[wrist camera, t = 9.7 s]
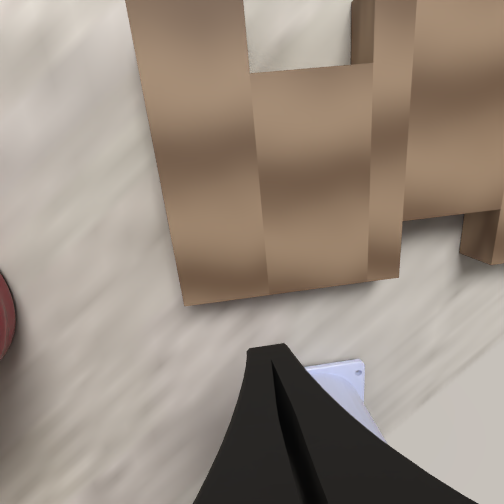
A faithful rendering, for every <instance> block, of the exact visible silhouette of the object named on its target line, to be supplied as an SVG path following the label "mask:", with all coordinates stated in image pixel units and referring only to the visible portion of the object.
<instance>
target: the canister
mask: <svg viewBox="0 0 504 504" xmlns="http://www.w3.org/2000/svg"><path fill="white" fill-rule="evenodd" d="M14 331H15V308H14V303H13V299H12V296H11V293H10V291H9V288H8V286H7V284H6V282H5V280H4V278H3V277H2V275H1V273H0V360H1V359H2V358H3V356H4V355H5V354H6V352H7V350H8V349H9V347H10V344H11V342H12V339H13V336H14Z"/></svg>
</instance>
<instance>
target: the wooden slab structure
mask: <svg viewBox="0 0 504 504" xmlns="http://www.w3.org/2000/svg"><path fill="white" fill-rule="evenodd" d="M125 2H126V7H127V13H128V18H129V23H130V28H131V33H132V38H133V44H134V49H135V54H136V59H137V64H138V69H139V74H140V80H141V85H142V90H143V95H144V100H145V105H146V111H147V116H148V121H149V126H150V131H151V136H152V141H153V147H154V152H155V157H156V162H157V167H158V172H159V177H160V183H161V188H162V193H163V198H164V203H165V208H166V214H167V219H168V224H169V229H170V234H171V239H172V244H173V250H174V255H175V260H176V265H177V270H178V275H179V281H180V286H181V291H182V296H183V301H184V306H191V305H199V304H206V303H214V302H221V301H228V300H236V299H243V298H251V297H258V296H265V295H273V294H280V293H288V292H295V291H302V290H310V289H317V288H325V287H332V286H339V285H347V284H354V283H362V282H369V281H377V280H384V279H391V278H399V268H400V252H401V237H402V222H403V221H408V220H416V219H425V218H433V217H441V216H449V215H457V214H464V221H463V228H462V236H461V243H460V251H459V253H461V254H463V255H466V256H469V257H471V258H474V259H477V260H479V261H482V262H484V263H487V264H490V265H495V264H502V263H504V0H353V1H352V3H351V65H343V66H331V67H319V68H308V69H296V70H284V71H273V72H261V73H250V72H249V61H248V50H247V38H246V27H245V16H244V5H243V0H125Z"/></svg>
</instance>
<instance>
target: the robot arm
mask: <svg viewBox="0 0 504 504" xmlns="http://www.w3.org/2000/svg"><path fill="white" fill-rule="evenodd" d="M358 370H359V371H358ZM356 371H358V372H356ZM364 376H365V365H364V363H363V362H362V360H360V359H354V360H347V361H341V362H334V363H328V364H321V365H314V366H308V367H303V366H302V364H301V363H300V362H299V361H298V359H297V358H296V357H295V356H294V354H293V353H292V352H291V350H290V349H289V348H288V346H287V345H286V344H284V343H282V344H275V345H269V346H262V347H255V348H249V350H248V351H247V361H246V368H245V373H244V378H243V382H242V386H241V390H240V394H239V398H238V401H237V404H236V407H235V410H234V413H233V416H232V419H231V422H230V424H229V427H228V430H227V432H226V435H225V437H224V440H223V442H222V444H221V447H220V449H219V451H218V454H217V456H216V458H215V460H214V462H213V464H212V467H211V469H210V471H209V473H208V475H207V477H206V479H205V481H204V483H203V485H202V487H201V489H200V491H199V493H198V495H197V497H196V499H195V500H194V502H193V504H478V503H476V502H474V501H473V500H471V499H469V498H467V497H465V496H464V495H462V494H461V493H459V492H457V491H456V490H454V489H453V488H451V487H449V486H448V485H446V484H445V483H443V482H441V481H440V480H438V479H437V478H435V477H434V476H432V475H430V474H429V473H427V472H426V471H424V470H423V469H422V468H420V467H419V466H417V465H416V464H415V463H413V462H412V461H410V460H409V459H407V458H406V457H404V456H403V455H402V454H400V453H399V452H397V451H396V450H394V449H393V448H392V447H390V446H389V445H388V444H387V442H386V440H385V439H384V437H383V435H382V434H381V432H380V430H379V428H378V427H377V425H376V423H375V422H374V420H373V418H372V416H371V415H370V413H369V411H368V410H367V408H366V406H365V405H364Z"/></svg>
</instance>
